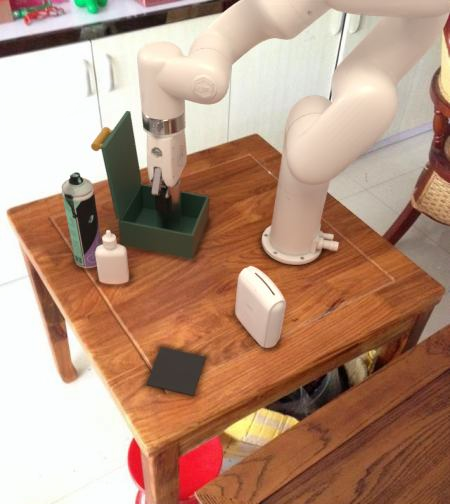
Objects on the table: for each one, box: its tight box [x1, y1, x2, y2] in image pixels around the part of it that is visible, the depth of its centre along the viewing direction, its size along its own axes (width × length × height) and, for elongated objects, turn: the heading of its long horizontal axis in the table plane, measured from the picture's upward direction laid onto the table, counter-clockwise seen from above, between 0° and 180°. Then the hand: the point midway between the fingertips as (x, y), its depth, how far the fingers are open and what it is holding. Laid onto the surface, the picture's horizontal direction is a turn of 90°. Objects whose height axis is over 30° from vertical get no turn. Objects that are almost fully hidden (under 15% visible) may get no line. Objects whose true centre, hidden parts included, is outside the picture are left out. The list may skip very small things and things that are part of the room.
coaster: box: [145, 346, 207, 397], centre depth 94 cm, size 8×8×1 cm
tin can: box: [156, 177, 182, 232], centre depth 111 cm, size 5×5×12 cm
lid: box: [90, 110, 142, 221], centre depth 107 cm, size 16×13×5 cm
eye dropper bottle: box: [95, 229, 130, 285], centre depth 103 cm, size 4×6×12 cm
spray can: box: [61, 171, 103, 269], centre depth 103 cm, size 6×6×20 cm
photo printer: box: [234, 265, 287, 349], centre depth 96 cm, size 10×4×12 cm, turn 32°
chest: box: [117, 183, 210, 260], centre depth 115 cm, size 15×13×6 cm
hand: (168, 201), depth 111 cm, fingers closed on tin can, 5 cm apart
